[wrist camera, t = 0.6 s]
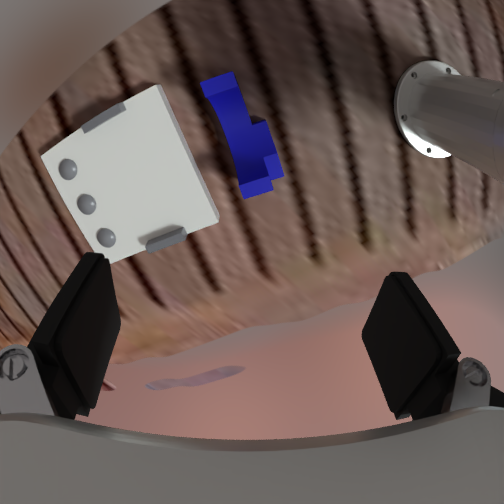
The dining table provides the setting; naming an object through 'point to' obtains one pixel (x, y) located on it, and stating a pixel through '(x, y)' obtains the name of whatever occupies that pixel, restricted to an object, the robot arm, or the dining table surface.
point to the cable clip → (244, 136)
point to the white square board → (131, 178)
